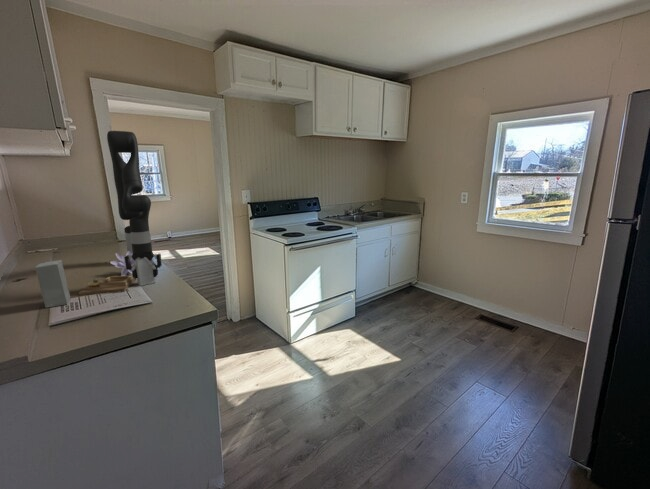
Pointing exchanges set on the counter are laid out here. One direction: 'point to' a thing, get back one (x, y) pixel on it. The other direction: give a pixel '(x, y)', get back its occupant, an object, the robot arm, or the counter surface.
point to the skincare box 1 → (53, 283)
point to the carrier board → (110, 285)
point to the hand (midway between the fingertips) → (145, 277)
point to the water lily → (123, 263)
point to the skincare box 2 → (144, 272)
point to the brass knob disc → (94, 283)
